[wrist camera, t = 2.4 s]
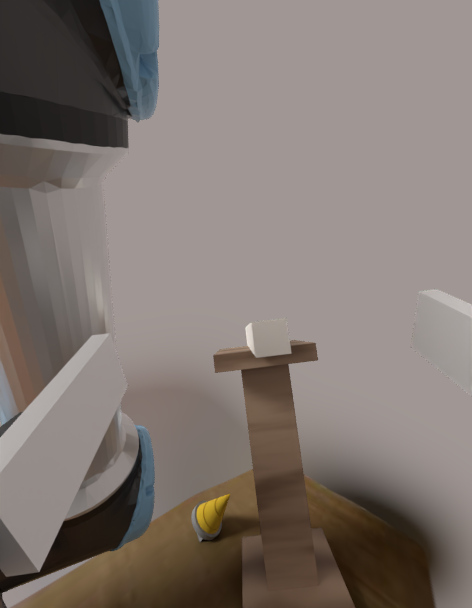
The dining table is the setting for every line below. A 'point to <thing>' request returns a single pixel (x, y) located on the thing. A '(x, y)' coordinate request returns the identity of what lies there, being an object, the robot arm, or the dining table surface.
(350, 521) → the dining table surface
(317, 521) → the dining table surface
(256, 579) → the pedestal
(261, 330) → the bar
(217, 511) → the drill bit
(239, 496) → the dining table surface
